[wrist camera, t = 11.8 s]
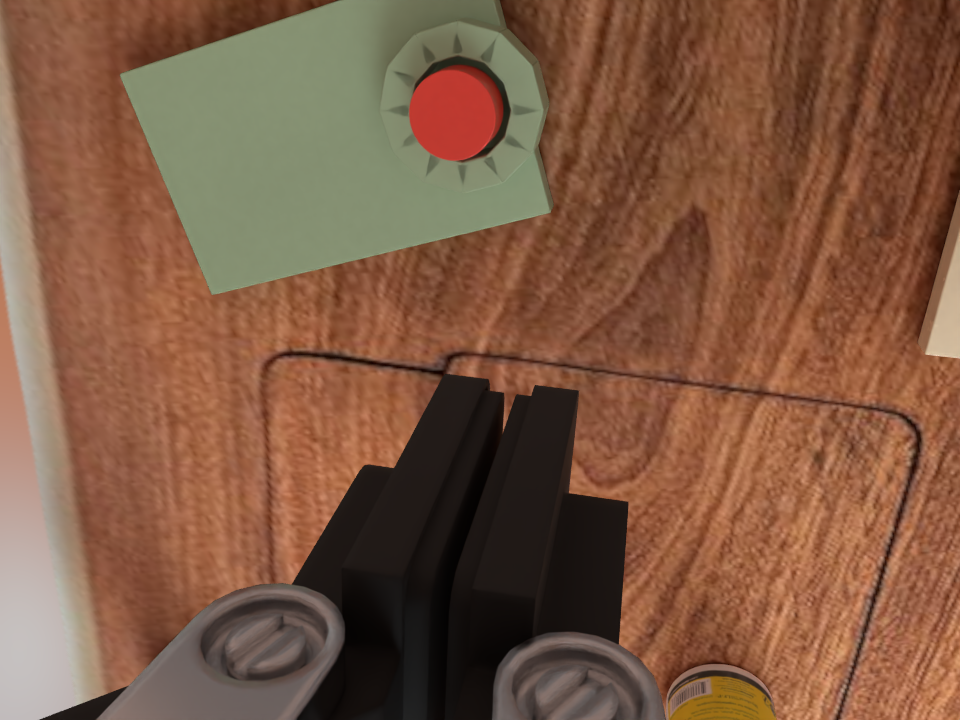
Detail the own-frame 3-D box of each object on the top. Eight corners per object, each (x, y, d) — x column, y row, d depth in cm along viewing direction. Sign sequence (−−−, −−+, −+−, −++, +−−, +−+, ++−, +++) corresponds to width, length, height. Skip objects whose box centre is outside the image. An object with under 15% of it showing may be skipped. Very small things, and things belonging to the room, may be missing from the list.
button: (490, 53, 33) (481, 58, 31) (513, 139, 34) (506, 148, 32) (409, 78, 33) (397, 83, 32) (435, 160, 35) (424, 170, 33)
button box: (513, -57, 33) (500, -58, 31) (578, 199, 37) (572, 218, 34) (133, 70, 38) (93, 79, 35) (223, 286, 42) (192, 309, 39)
